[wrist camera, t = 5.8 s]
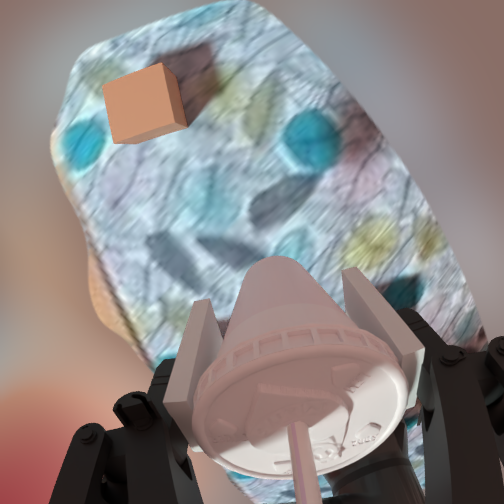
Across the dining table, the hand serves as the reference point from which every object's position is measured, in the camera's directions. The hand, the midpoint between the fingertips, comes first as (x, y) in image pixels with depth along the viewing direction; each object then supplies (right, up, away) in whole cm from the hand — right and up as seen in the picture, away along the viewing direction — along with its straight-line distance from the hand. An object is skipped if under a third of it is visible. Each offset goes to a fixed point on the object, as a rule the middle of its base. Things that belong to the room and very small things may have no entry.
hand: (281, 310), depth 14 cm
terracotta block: (-10, +15, +10) cm, 21 cm away
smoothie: (0, +1, +2) cm, 3 cm away
